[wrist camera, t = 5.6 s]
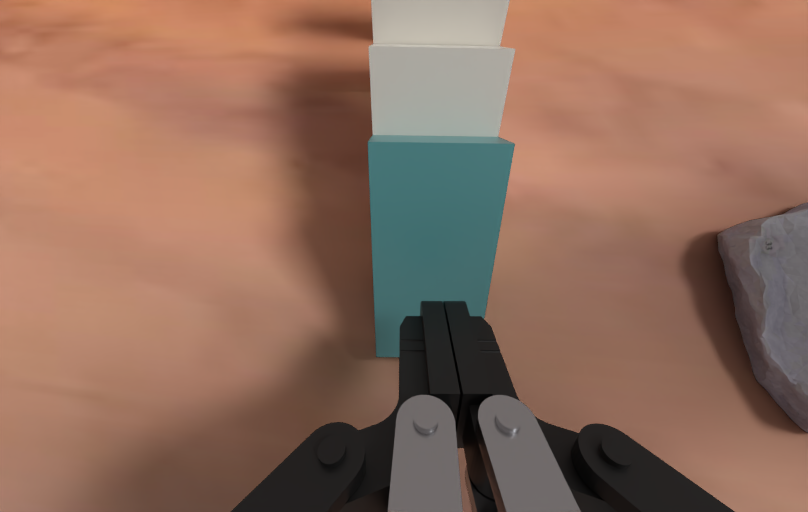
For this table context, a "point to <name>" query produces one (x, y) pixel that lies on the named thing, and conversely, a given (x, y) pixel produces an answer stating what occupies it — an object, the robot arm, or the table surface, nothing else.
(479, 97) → the domino
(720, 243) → the stone block
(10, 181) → the table surface
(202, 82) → the table surface
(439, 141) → the domino
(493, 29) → the domino
